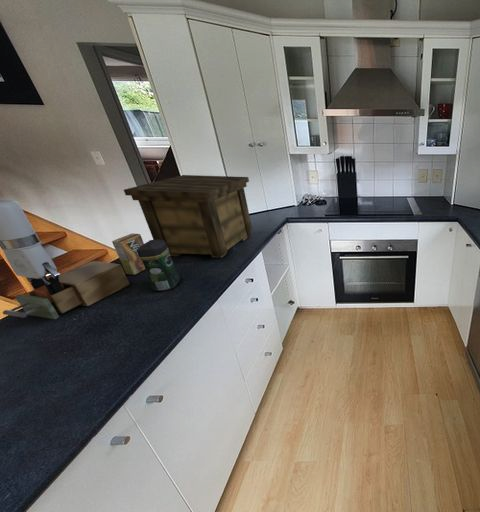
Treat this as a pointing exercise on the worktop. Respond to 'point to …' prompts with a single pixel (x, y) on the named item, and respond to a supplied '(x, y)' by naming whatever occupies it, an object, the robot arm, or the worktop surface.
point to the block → (44, 293)
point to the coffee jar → (158, 265)
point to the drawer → (47, 303)
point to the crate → (196, 212)
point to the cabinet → (95, 280)
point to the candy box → (129, 253)
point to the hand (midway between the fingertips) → (50, 291)
